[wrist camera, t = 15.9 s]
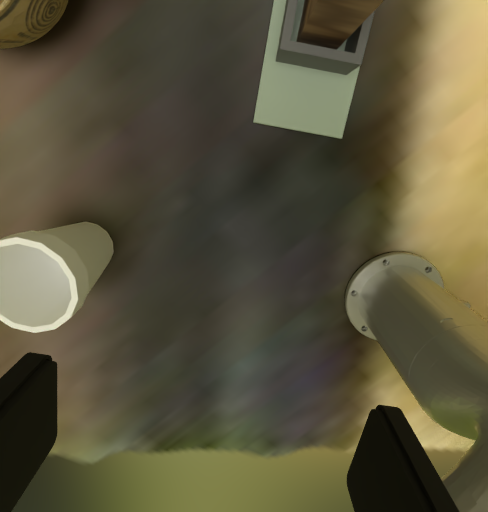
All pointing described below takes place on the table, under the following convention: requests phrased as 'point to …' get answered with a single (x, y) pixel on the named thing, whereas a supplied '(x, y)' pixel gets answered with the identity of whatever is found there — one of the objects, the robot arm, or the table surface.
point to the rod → (332, 20)
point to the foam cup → (50, 274)
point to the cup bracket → (307, 76)
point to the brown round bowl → (27, 20)
